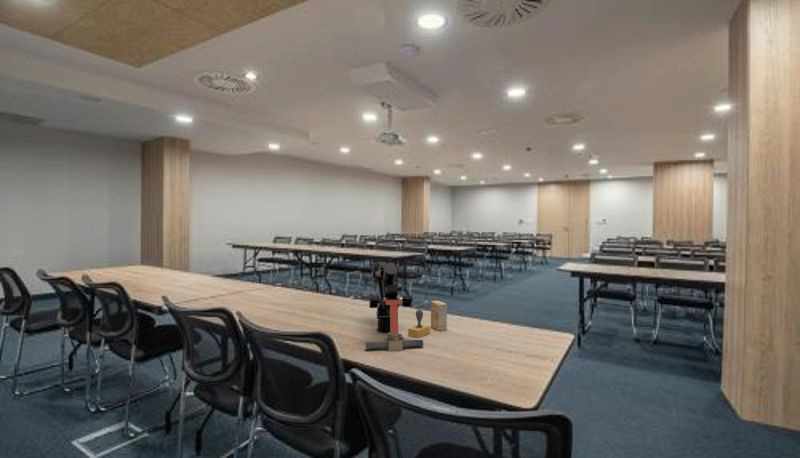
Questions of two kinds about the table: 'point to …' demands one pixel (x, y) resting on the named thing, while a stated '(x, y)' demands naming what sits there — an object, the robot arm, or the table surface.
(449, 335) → the table surface
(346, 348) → the table surface
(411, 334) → the rubber stamp
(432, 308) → the supplement box
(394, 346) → the pipe valve
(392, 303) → the lever
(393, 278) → the robot arm
